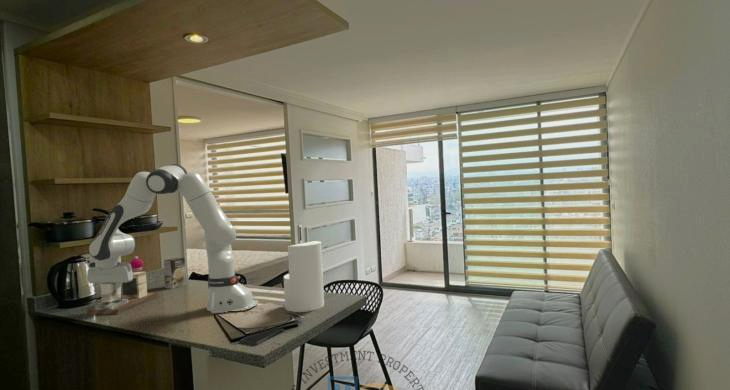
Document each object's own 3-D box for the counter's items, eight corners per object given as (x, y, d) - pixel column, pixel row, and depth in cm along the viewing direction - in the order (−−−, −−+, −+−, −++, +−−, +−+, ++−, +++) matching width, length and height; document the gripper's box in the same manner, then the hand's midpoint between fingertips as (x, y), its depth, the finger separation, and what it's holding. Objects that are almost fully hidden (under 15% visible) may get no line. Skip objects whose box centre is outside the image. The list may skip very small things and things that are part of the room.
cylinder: (332, 303, 173) (329, 241, 172) (305, 314, 158) (302, 247, 158) (304, 298, 182) (301, 240, 182) (276, 308, 168) (273, 245, 168)
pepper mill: (138, 294, 206) (136, 257, 206) (127, 294, 208) (125, 257, 208) (148, 290, 213) (146, 254, 213) (137, 290, 215) (135, 255, 215)
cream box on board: (157, 296, 199) (156, 269, 199) (117, 314, 171) (116, 282, 171) (131, 297, 200) (129, 270, 200) (87, 314, 172) (85, 283, 172)
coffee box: (172, 289, 214) (171, 260, 214) (164, 288, 217) (163, 260, 217) (186, 285, 223) (184, 257, 223) (178, 284, 225) (176, 257, 225)
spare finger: (110, 301, 174) (109, 284, 174) (101, 301, 174) (100, 284, 174) (121, 297, 181) (121, 280, 181) (112, 297, 181) (112, 280, 181)
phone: (284, 328, 140) (255, 344, 127) (285, 331, 140) (255, 347, 127) (268, 326, 144) (238, 340, 131) (268, 329, 144) (238, 343, 131)
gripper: (135, 260, 179) (136, 289, 179) (95, 261, 181) (96, 290, 181) (125, 263, 173) (127, 293, 173) (84, 264, 175) (85, 294, 175)
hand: (111, 292), depth 177 cm, fingers closed on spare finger, 4 cm apart
